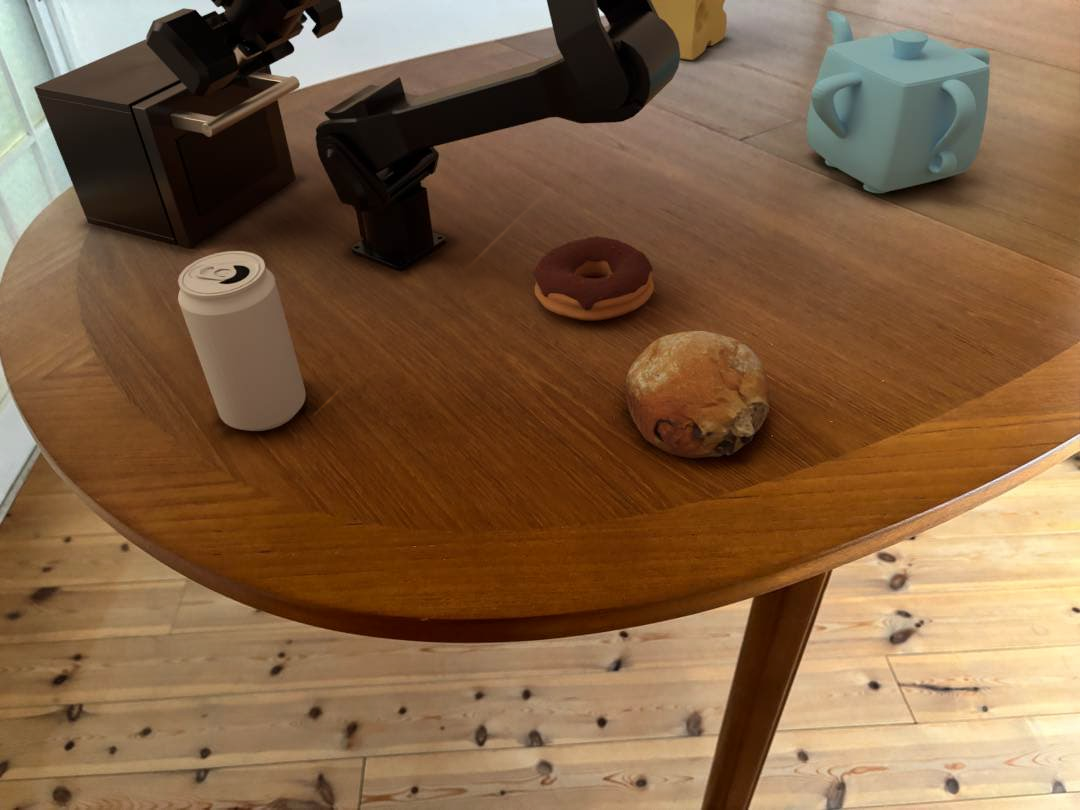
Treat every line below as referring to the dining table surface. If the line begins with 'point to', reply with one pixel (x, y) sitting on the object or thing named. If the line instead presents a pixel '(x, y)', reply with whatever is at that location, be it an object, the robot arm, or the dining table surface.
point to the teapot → (898, 107)
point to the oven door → (217, 151)
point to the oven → (111, 139)
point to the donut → (584, 298)
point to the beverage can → (242, 339)
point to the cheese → (693, 23)
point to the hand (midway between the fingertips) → (218, 84)
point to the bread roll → (698, 394)
